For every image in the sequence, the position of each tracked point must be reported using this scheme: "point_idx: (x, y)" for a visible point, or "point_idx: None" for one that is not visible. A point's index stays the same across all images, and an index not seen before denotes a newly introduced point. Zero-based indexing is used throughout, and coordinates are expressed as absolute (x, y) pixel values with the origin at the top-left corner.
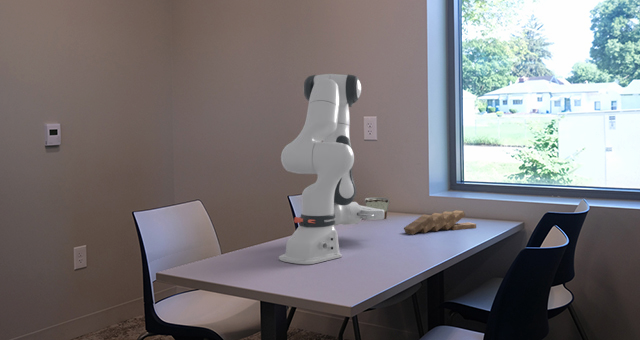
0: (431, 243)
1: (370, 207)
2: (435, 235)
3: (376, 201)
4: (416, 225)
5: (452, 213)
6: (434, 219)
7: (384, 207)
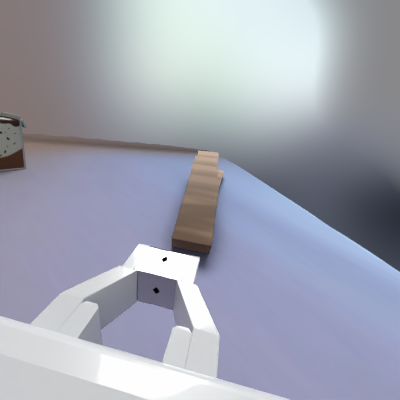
0: (360, 315)
1: (93, 386)
2: (245, 232)
3: None
4: (211, 222)
5: (217, 161)
6: None
7: (11, 139)
